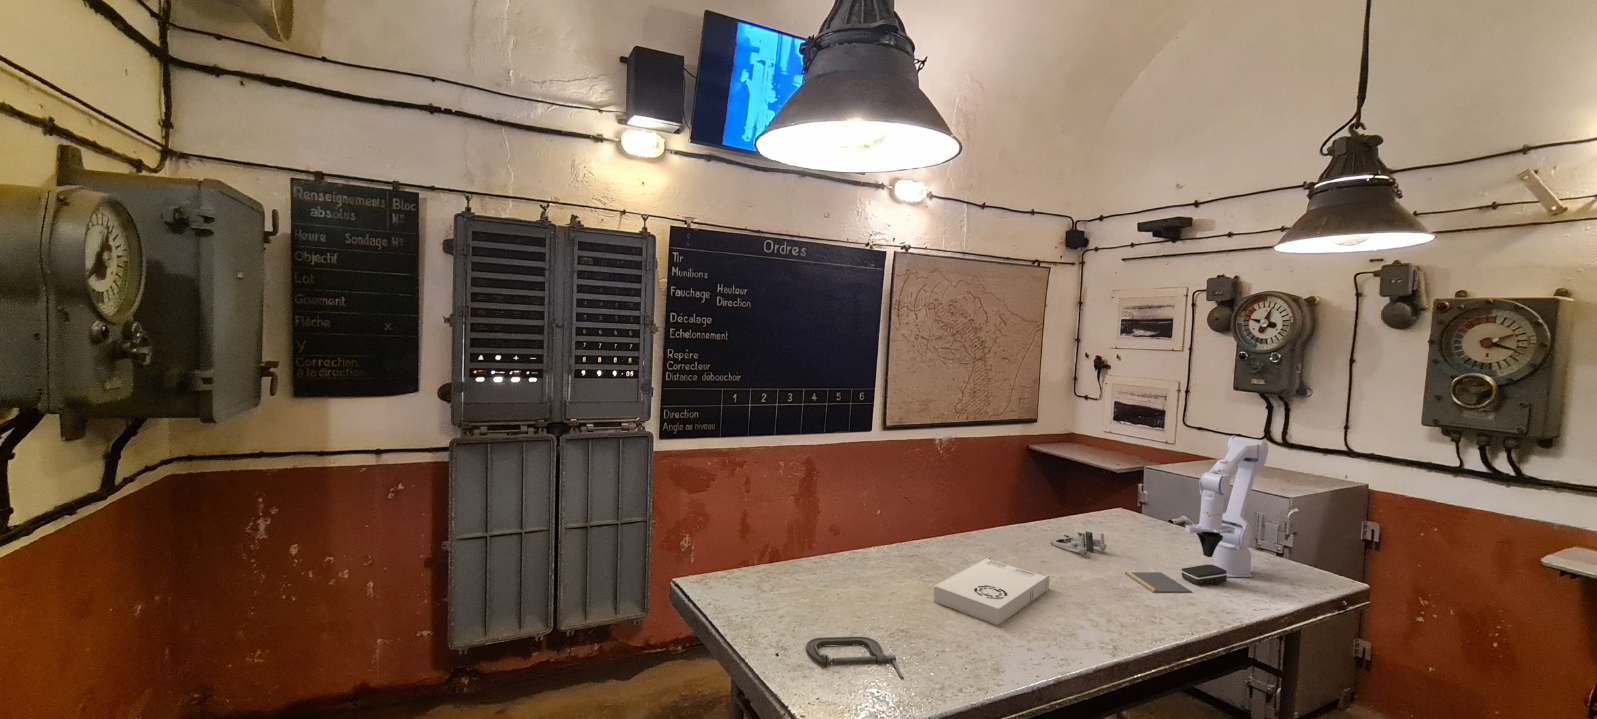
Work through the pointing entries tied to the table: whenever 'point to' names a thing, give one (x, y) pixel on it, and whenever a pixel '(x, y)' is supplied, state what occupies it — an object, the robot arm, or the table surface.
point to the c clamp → (868, 642)
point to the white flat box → (990, 590)
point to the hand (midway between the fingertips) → (1207, 555)
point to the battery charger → (1204, 574)
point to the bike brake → (1082, 542)
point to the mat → (1157, 582)
